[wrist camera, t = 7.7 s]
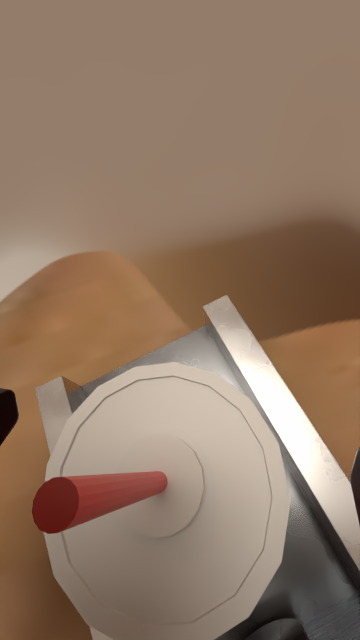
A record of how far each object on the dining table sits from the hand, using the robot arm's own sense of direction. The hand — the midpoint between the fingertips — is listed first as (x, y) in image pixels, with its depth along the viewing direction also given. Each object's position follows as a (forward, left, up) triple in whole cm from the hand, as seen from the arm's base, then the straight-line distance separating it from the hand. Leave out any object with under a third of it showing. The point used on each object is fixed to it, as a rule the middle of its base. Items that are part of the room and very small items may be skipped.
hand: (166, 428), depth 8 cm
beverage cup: (-1, +1, -9) cm, 9 cm away
